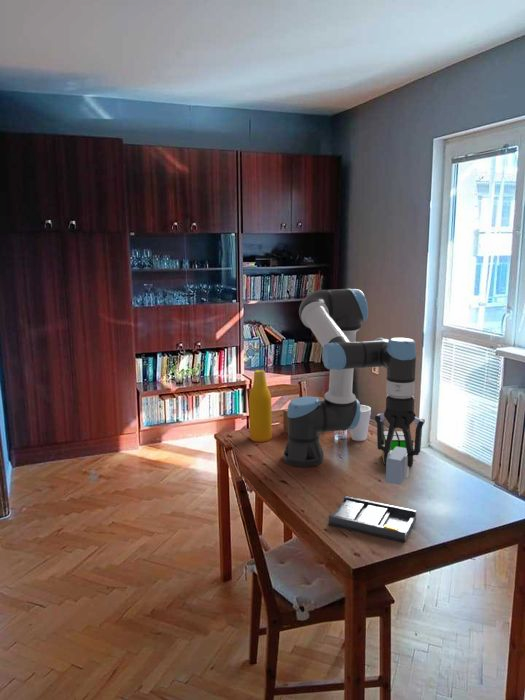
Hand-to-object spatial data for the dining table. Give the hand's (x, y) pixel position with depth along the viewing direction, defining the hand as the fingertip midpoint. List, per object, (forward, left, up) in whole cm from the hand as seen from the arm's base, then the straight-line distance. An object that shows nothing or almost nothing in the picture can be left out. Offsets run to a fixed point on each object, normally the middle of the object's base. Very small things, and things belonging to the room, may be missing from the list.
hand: (397, 475), depth 156 cm
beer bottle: (-69, +48, -16) cm, 86 cm away
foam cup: (-32, +65, -16) cm, 74 cm away
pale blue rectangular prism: (0, 0, 0) cm, 1 cm away
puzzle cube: (-12, +48, -17) cm, 52 cm away
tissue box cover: (-54, +70, -17) cm, 90 cm away
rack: (-7, 0, -16) cm, 18 cm away
